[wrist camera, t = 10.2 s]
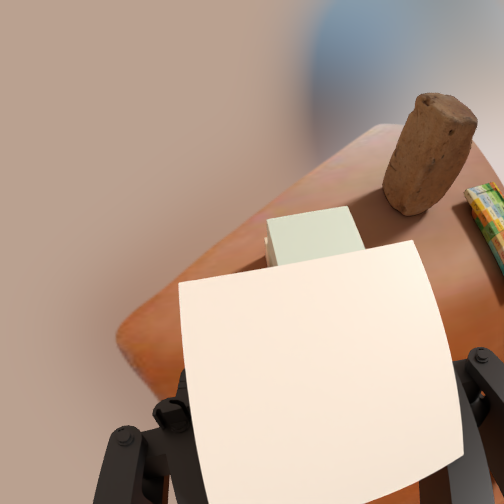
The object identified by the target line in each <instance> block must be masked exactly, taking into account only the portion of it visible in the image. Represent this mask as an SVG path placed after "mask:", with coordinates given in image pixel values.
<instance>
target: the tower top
mask: <svg viewBox="0 0 504 504" xmlns="http://www.w3.org/2000/svg"><path fill="white" fill-rule="evenodd" d="M267 240H268V247H269V251H270V256H271V260H272V264H273V267H275V266H280V265H286V264H291V263H297V262H302V261H308V260H313V259H318V258H324V257H329V256H334V255H339V254H345V253H350V252H355V251H360V250H365V247H364V244H363V242H362V239H361V237H360V234H359V232H358V230H357V227H356V225H355V222H354V220H353V218H352V215H351V213H350V211H349V209H348V206H343V207H337V208H331V209H325V210H319V211H313V212H307V213H301V214H295V215H289V216H284V217H278V218H272V219H267Z"/></svg>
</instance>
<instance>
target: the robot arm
mask: <svg viewBox="0 0 504 504" xmlns="http://www.w3.org/2000/svg"><path fill="white" fill-rule="evenodd" d="M452 363H453V368H454V373H455V379H456V384H457V390H458V397H459V404H460V412H461V421H462V433H463V451H464V455H463V456H461V457H459V458H458V459H456V460H455V461H453V462H452V463H450V464H448V465H447V466H445V467H443V468H441V469H440V470H438V471H436V472H434V473H432V474H431V475H429V476H427V477H425V478H423V479H421V480H419V490H420V504H495V502H494V495H493V489H492V483H491V478H490V473H489V469H490V470H491V472H492V474H493V476H494V478H495V480H496V482H497V484H498V486H499V488H500V490H501V493H502V495H503V497H504V363H503V362H502V361H501V360H500V359H499V358H498V357H497V356H496V355H495V354H494V353H493V352H492V351H490V350H489V349H487V348H484V347H477V348H474V349H472V350H471V351H470V353H469V355H468V358H467V359H464V360H458V361H452ZM481 391H483V392H484V394H485V396H483V395H482V394H481ZM153 417H154V418H155V420H156V422H157V423H158V425H159V426H160V427H159V428H156V429H152V430H148V431H144V432H140V430H139V429H137V428H136V427H134V426H129V425H128V426H122V427H120V428H118V429H116V430H115V431H114V432H113V433H112V434H111V436H110V439H109V442H108V446H107V449H106V453H105V456H104V460H103V464H102V467H101V471H100V475H99V479H98V484H97V487H96V492H95V496H94V501H93V504H168V491H169V476H170V475H171V479H172V484H173V488H174V492H175V496H176V500H177V503H178V504H209V502H208V498H207V494H206V490H205V485H204V481H203V476H202V472H201V467H200V462H199V457H198V451H197V446H196V440H195V435H194V429H193V423H192V416H191V409H190V403H189V395H188V388H187V380H186V371H185V368H184V370H183V371H182V372H181V376H180V380H179V384H178V390H177V393H176V397H171V398H167V399H164V400H162V401H161V402H159V403H158V404H157V405H156V406H155V408H154V409H153ZM488 467H489V468H488Z"/></svg>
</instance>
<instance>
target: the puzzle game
mask: <svg viewBox="0 0 504 504" xmlns="http://www.w3.org/2000/svg"><path fill="white" fill-rule="evenodd" d="M464 196H465V198H466V199H467V201H468V202H469V204H470V206H471V207H472V212H471V213H472V217H473V218H474V220H475V222H476V223H477V225H478V227H479V229H480V230H481V232H482V234H483V236H484V237H485V239H486V241H487V243H488V245H489V247H490V249H491V251H492V252H493V254H494V256H495V258H496V260H497V263H498V265H499V267H500V269H501V271H502V273H503V275H504V196H503V194H502V193H501V191H500V190H499V189H498V187H497V186H496V184H495V183H494V182H491V183H487V184H484V185H480V186H477V187H473V188H470V189H466V190H465V192H464Z"/></svg>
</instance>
